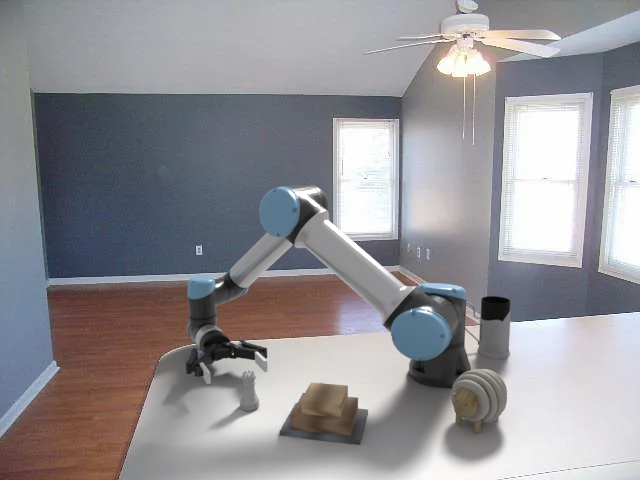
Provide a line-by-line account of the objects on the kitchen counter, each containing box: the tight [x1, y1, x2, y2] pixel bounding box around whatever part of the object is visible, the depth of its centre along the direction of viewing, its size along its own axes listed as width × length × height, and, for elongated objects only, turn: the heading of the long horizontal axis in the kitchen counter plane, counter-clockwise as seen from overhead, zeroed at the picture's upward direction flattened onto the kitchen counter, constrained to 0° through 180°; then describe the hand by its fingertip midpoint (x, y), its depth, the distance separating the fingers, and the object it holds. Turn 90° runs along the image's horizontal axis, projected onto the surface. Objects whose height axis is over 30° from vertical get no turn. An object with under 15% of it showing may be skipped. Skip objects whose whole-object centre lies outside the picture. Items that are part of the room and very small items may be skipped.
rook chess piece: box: [239, 370, 260, 412], centre depth 112 cm, size 4×4×8 cm
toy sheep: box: [450, 368, 508, 434], centre depth 105 cm, size 11×17×11 cm, turn 138°
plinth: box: [279, 382, 369, 445], centre depth 105 cm, size 16×12×7 cm
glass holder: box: [465, 295, 512, 359], centre depth 142 cm, size 9×14×15 cm, turn 71°
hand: (238, 372), depth 117 cm, fingers open, 13 cm apart
